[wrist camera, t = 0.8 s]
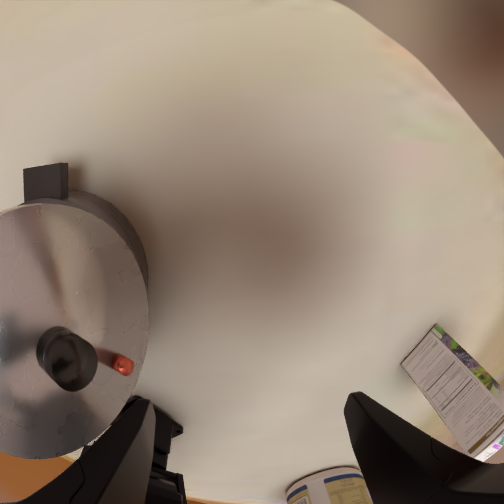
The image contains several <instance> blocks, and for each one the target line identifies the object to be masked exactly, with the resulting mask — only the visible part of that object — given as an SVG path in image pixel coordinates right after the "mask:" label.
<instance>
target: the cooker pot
mask: <svg viewBox="0 0 504 504" xmlns="http://www.w3.org/2000/svg"><path fill="white" fill-rule="evenodd" d="M23 178H24V201H25V202H24V203H22V204H20V205H27V204H35V203H42V204H60V205H66V206H71V207H75V208H79V209H81V210H84V211H86V212H89V213H91V214H93V215H94V216H96V217H98V218H99V219H101V220H103V221H104V222H105V223H107V224H108V225H109V226H110V227H111V228H113V229H114V230H115V231H116V232H117V233H118V234H119V236H120V237H121V238H122V239H123V240H124V241H125V243H126V244H127V246H128V247H129V249H130V250H131V252H132V254H133V255H134V257H135V259H136V261H137V263H138V266H139V268H140V271H141V274H142V276H143V280H144V284H145V288H146V292H147V286H148V268H147V262H146V257H145V253H144V250H143V247H142V244H141V242H140V240H139V237H138V235H137V234H136V232H135V230H134V228H133V227H132V225H131V224H130V223H129V221H128V220H127V219H126V217H125V216H124V215H123V214H122V213H121V212H120V211H119V210H118V209H117V208H116V207H114V206H113V205H112V204H111V203H109V202H108V201H106V200H104V199H103V198H101V197H99V196H96V195H94V194H91V193H87V192H82V191H68V163H58V164H51V165H44V166H38V167H32V168H26V169H23ZM20 205H18V206H20Z"/></svg>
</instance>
